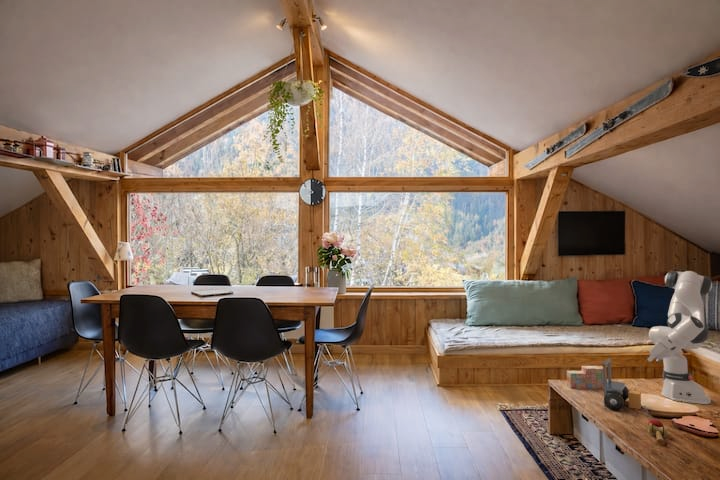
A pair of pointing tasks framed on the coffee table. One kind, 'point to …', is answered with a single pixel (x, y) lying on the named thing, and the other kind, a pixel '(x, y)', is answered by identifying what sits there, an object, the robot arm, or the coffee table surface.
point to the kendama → (658, 430)
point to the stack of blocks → (586, 377)
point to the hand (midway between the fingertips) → (653, 360)
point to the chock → (634, 399)
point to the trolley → (613, 390)
